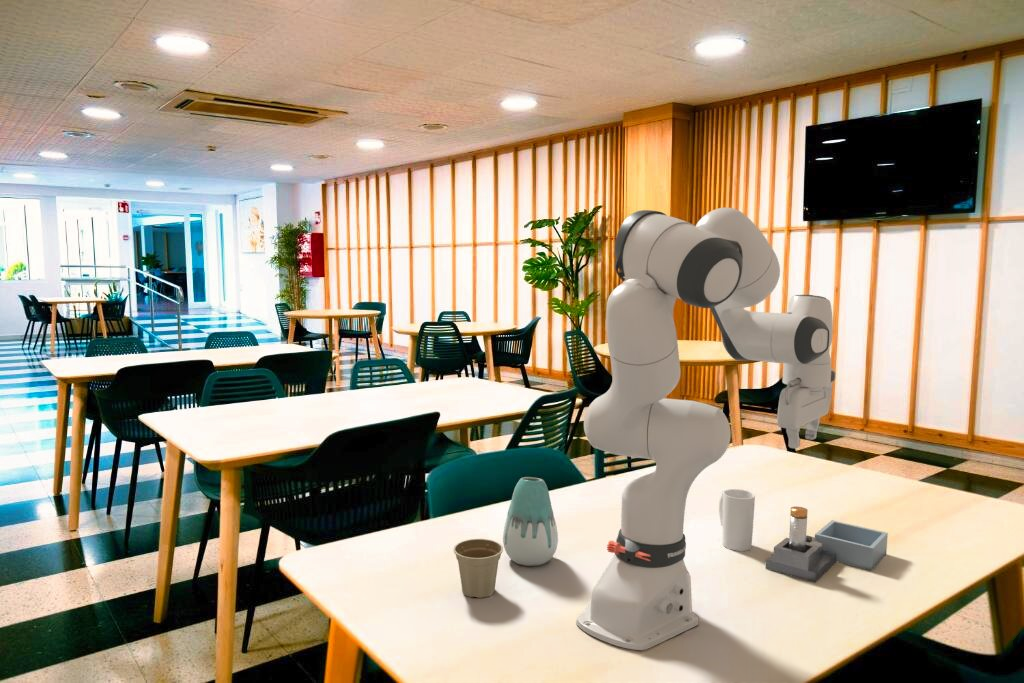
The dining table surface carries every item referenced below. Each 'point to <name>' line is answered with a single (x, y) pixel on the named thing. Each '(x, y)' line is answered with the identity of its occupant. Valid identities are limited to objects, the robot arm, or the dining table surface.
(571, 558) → the dining table surface
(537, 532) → the vase
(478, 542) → the flower pot
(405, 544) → the dining table surface
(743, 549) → the mug
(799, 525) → the lock pin
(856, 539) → the parts bin
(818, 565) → the block
